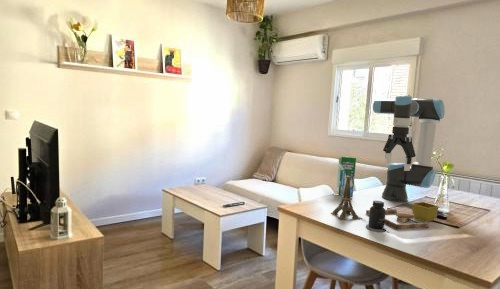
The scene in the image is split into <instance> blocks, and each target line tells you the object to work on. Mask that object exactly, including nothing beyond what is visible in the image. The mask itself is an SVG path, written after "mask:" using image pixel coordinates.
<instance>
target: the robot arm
mask: <svg viewBox="0 0 500 289" xmlns="http://www.w3.org/2000/svg"><path fill="white" fill-rule="evenodd" d="M372 111H373V112H374V113H375V114H382V115H383V114H384V115H385V114H387V115H389V114H390V115H393V119H392V120H393V121H392V122H393V123H392V125H393V126H392V130H391V133H392V134H388V138H387V140H386V142H385V145H384V147H383V150H382V151H383V152H384V153H385V165H384V166H387V171H386V182H385V187H384V189H383V191H382V194H381V197H382V198H383V199H385V200H387V201H393V202H402V203H404V202H408V200H409V197H408V192H407V185H408V186H413V187H418V188H422V189H423V188H424V189H429V188H430V187H431V186H432V185H433V184H434V181H435V178H436V172H437V171H436V170H435V169H434V165H432V156H433V149H434V145H435V144H434V142H435V138H436V130H437V124H439V123H440V122H441V120H442V119H444V118H445V113H446V112H445V111H446V110H445V104H444V101H443V100H442V99H440V98H413V97H412V95H403V94H402V95H396V96H395V99H375V100H374V101H373V103H372ZM411 117H412V118H418V121H419V123H420V125H419V132H418V138H417V145H416V150H415V148H414V144H413V138H412V137H411V136H410V137H408V135H409V131H410V122H411ZM397 145H399V146H400V147H401V148H402V150H403V152H404V154H405V158H404V162H393V163H392V162H391V161H392V151H393V150H394V148H396V146H397ZM415 152H416V153H415ZM413 158H415V159H414V161H413V162H412V159H413Z"/></svg>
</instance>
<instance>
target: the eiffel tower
mask: <svg viewBox="0 0 500 289" xmlns="http://www.w3.org/2000/svg"><path fill="white" fill-rule="evenodd" d="M346 179H347V180H346V185H345V190H344V194H343V195H341V197H340V198H341V201H340V203H339V204H338V206H337V207H336V208H335V209H334V210H333V211H332V212H331V213H330V214H331V215H332V216H338V215H339V212H340V211H342V212H340V213H341V214H340V215H339V217H338V218H337V219H339V220H340V221H347V219H346V215H349V216H350V215H351V218H352V219H353V220H354V221H356V220H357V221H358V220H361V219H360V218H359V217H358V215H357V213H356V212H355V210H354V206H353V205H352V200H353V199H352V197H351V196H350V179H351V177H350V176H349V174H348V176H346Z"/></svg>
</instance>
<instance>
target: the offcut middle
mask: <svg viewBox="0 0 500 289" xmlns="http://www.w3.org/2000/svg"><path fill="white" fill-rule="evenodd" d="M408 221H410V220H409V218H403V217H397V216H396V222H398V223H401V224H406V223H407V222H408Z"/></svg>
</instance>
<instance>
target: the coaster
mask: <svg viewBox="0 0 500 289" xmlns="http://www.w3.org/2000/svg"><path fill="white" fill-rule="evenodd" d="M365 228H366V229H367V230H369V231H372V232H375V233H386V232H387V231H388V230H387V229H385V228H383V229H374V228H371V227H369V225H368V223H367V224H365Z"/></svg>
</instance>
